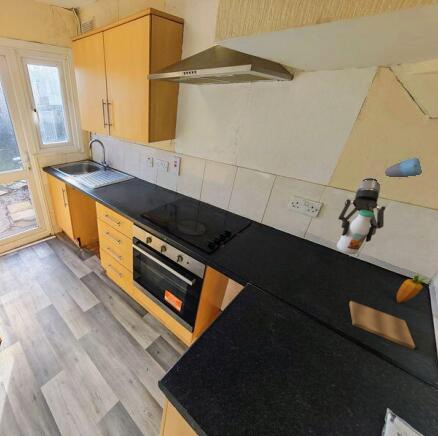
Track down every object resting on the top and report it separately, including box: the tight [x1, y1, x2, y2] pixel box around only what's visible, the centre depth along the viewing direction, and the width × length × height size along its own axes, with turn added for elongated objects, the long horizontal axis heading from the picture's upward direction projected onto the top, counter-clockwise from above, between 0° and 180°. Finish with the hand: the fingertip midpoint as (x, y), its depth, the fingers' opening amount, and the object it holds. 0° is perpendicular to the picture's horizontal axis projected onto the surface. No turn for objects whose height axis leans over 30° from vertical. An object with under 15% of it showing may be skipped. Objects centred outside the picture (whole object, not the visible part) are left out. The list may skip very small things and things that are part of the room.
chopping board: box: [348, 300, 416, 350], centre depth 83 cm, size 16×12×2 cm
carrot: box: [396, 273, 428, 304], centre depth 89 cm, size 5×5×15 cm
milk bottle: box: [336, 210, 375, 255], centre depth 102 cm, size 8×8×20 cm
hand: (355, 237), depth 100 cm, fingers closed on milk bottle, 8 cm apart
